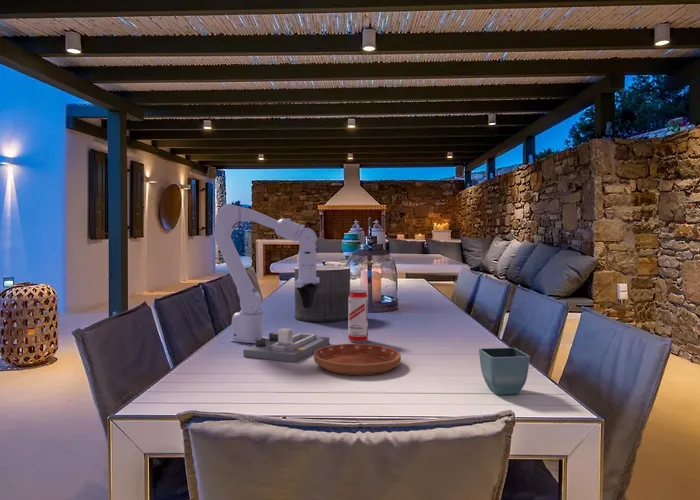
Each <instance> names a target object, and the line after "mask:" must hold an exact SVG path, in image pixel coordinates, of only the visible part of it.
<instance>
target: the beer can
mask: <svg viewBox="0 0 700 500" xmlns="http://www.w3.org/2000/svg"><path fill="white" fill-rule="evenodd" d="M347 320H348V329H347V331H348V334H347V335H348V336H347V337H348V340H349V341H350V342H351V343H355V344H362V343H365V342H366V341H367V340H368V338H369V336H368V335H369V326H368V325H369V322H368V321H369V296H368V294H367V290H363V289H362V290H361V289H358V290H357V289H356V290H350V295H349V310H348V319H347Z"/></svg>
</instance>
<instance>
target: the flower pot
mask: <svg viewBox="0 0 700 500" xmlns="http://www.w3.org/2000/svg"><path fill="white" fill-rule="evenodd" d="M478 355H479V362H480V364H479V366H480V370H481V374H482V377H483V379H484V382H485V384H486V385H487V388H488V389H489V390H490V391H491V392H492V393H494V395H498V396H499V395H519V394H520V392H522V389H523V388H524V386H525V384H526V382H527V378H528V374H529V368H530V361H531V359H530V358H531V356H530V355H528V353H525V352H524V351H521V350H519V348H516V347H493V348H492V347H491V348H490V347H489V348H488V347H487V348H485V347H484V348H483V347H481V348H478Z"/></svg>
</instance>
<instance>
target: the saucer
mask: <svg viewBox="0 0 700 500" xmlns="http://www.w3.org/2000/svg"><path fill="white" fill-rule="evenodd" d="M401 355H402V354H401V353H400V352H399V351H398V350H396V349H394V348H391V347H388V346H384V345H379V344H378V345H377V344H369V343H340V344H331V345H326V346H324V347H322V348H320V349H318V350H316V351H314V352H313V360H314V363H315V364H317V365H318V366H320V367H321V368H322V369H324V370H326V371H329V372H332V373H335V374H342V375H346V376H347V375H351V376H366V375H367V376H368V375H375V374H376V375H377V374H381V373H386V372H389V371H391V370H392V369H393V368H396V367H397V366H399V365H400V364H401V361H402V360H401V358H402V357H401Z"/></svg>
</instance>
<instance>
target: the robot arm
mask: <svg viewBox="0 0 700 500" xmlns="http://www.w3.org/2000/svg"><path fill="white" fill-rule="evenodd" d="M291 220H292V219H291V218H289V217H287V218H284V217H283V218H280V219H275V218H273V217H271V216H268V215H266V214H263V213H261V212H259V211H257V210H254V209H252V208H248V207H243V206H239V205H236V204H231V203H226V204H223V205H222V206H221V207H220V208H219V209H218V212H217V214H216V215H215V223H214V230H213V238H214V241H215V243H216V245H217V247H218V249H219V252H220V254H221V256H222V259H223V260H224V263H225V265H226V268H227V269H228V272H229V274H230V276H231V278H232V281H233V283H234V285H235V287H236V290H237V296H238V298H239V307H240V310H239V311H237V312H235V313H234V314H233V315H232V318H231V339H230V342H237V343H247V344H255V339H256V338H266V340H269V336H264V335H263V334H264V330H263V329H264V321H263V320H264V319H263V317H264V315H263V314H264V313H263V312H264V311H263V310H262V309H261V305H262V303H263V297H262V295H261V293H260V292H258V290H256V288H255V285H253V283H252V282H251V280H250V277H249V275H248V272H247V271H246V268H245V266H244V263H243V262H242V259H241V256H240V254H239V252H238V250H237V248H236V246H235V243H234V242H233V239H232V234H233V233H234V232H233V231H234V229H235V227H236V226H237V225H238V224H239V222H253V223H256V224H259V225H262V226H264V227H267V228H269V229H271V230H272V229H274V232H275V234H276V235H277V236H279V237H281V238H284V239H287V240H289V241H292V242H298V243H299V248H298V249H299V250H298V266H297V267H298V269H299V279H298V280H297V281H295V280H294V288H295V287H297V289H298V291H299V293H300V295H301V298H302V302H303V306H304V308H311V306H312V302H313V297H314V294H315V292H316V290H317V288H318V285H313V284H314V283H319V281H320V279H319V277H316V266H317V251H316V249H317V245H316V243H317V239H318V236H317V234H316V232H315V230H313V229H312V228H310V227H305V226H306V225H305V224H300V223H296V222H295V221H291Z"/></svg>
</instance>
